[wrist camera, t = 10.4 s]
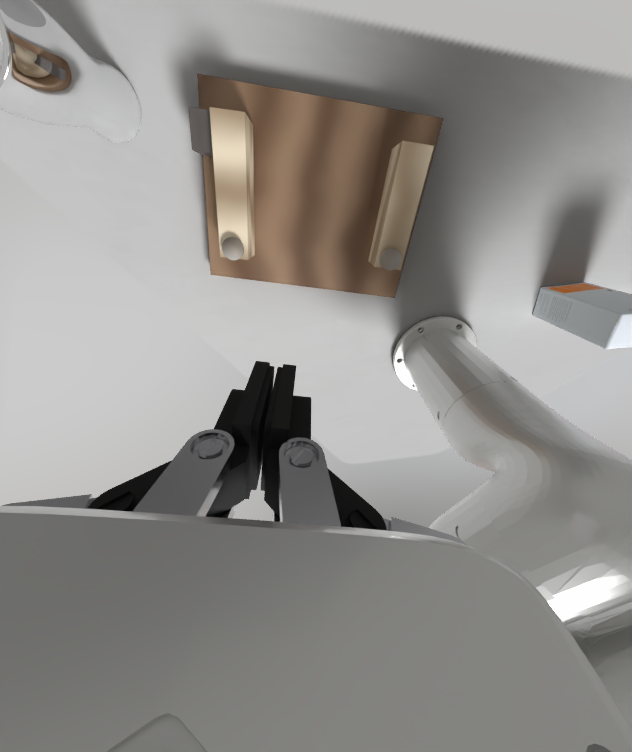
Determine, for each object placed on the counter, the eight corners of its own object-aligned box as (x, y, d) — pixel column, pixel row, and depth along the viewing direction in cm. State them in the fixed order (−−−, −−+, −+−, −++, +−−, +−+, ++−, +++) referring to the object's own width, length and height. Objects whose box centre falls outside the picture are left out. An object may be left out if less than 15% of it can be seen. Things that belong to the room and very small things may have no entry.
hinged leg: (254, 255, 33) (247, 261, 29) (229, 253, 33) (218, 258, 29) (253, 124, 27) (243, 109, 23) (222, 120, 27) (207, 104, 23)
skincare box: (584, 280, 38) (686, 306, 28) (573, 310, 40) (663, 345, 30) (538, 286, 38) (623, 313, 28) (530, 315, 40) (605, 351, 30)
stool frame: (435, 123, 29) (465, 102, 23) (390, 293, 38) (404, 308, 33) (204, 82, 27) (176, 48, 22) (215, 271, 36) (197, 282, 31)
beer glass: (107, 36, 26) (-99, -140, 13) (160, 124, 29) (39, 55, 16) (56, 83, 27) (-173, -31, 14) (112, 162, 30) (-33, 127, 18)
